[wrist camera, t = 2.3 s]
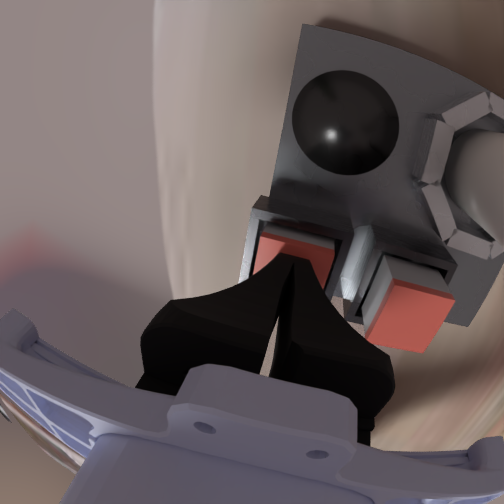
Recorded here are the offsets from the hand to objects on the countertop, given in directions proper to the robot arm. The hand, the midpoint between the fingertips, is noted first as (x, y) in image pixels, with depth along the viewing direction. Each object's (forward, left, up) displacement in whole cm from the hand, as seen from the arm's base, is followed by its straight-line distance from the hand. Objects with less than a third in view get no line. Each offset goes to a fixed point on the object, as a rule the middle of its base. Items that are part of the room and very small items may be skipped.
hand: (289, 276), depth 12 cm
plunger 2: (0, -5, -1) cm, 6 cm away
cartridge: (+6, -8, -3) cm, 11 cm away
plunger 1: (0, 0, -2) cm, 2 cm away
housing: (+4, -5, -5) cm, 8 cm away
